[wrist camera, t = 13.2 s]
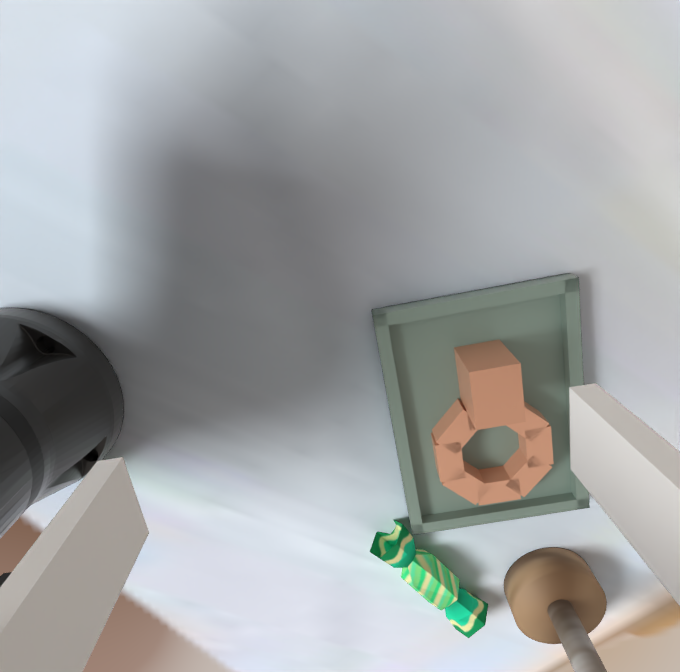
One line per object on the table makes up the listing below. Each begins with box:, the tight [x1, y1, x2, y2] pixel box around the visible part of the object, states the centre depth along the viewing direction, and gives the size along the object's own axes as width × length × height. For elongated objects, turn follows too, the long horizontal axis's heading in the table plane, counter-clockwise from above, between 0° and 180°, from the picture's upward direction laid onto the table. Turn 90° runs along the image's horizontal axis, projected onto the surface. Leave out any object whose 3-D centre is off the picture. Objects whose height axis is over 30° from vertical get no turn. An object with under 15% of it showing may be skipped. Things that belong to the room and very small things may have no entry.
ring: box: [431, 340, 554, 506], centre depth 39 cm, size 9×13×5 cm
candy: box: [370, 520, 488, 638], centre depth 45 cm, size 12×3×4 cm
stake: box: [504, 548, 607, 672], centre depth 41 cm, size 8×8×14 cm
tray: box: [372, 273, 589, 535], centre depth 41 cm, size 20×15×2 cm
